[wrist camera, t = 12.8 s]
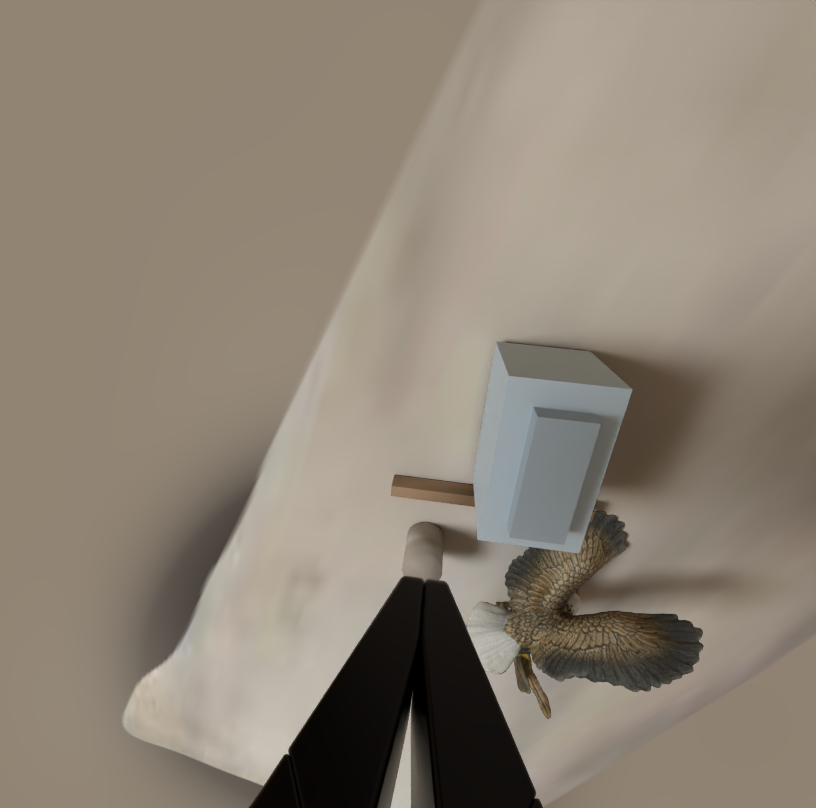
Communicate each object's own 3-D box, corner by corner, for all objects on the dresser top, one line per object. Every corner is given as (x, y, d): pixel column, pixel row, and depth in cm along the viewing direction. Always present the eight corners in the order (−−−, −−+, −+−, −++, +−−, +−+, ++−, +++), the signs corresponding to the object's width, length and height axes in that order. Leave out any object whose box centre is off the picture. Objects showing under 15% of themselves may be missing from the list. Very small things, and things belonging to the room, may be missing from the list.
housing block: (590, 351, 17) (643, 398, 12) (553, 487, 20) (584, 569, 15) (496, 341, 17) (511, 384, 13) (472, 477, 20) (478, 554, 15)
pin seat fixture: (627, 378, 18) (652, 399, 16) (536, 663, 26) (544, 706, 23) (403, 353, 18) (396, 371, 16) (381, 639, 26) (374, 678, 24)
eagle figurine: (571, 669, 24) (715, 615, 19) (523, 769, 18) (709, 728, 14) (489, 556, 26) (599, 483, 22) (426, 614, 21) (554, 533, 16)
